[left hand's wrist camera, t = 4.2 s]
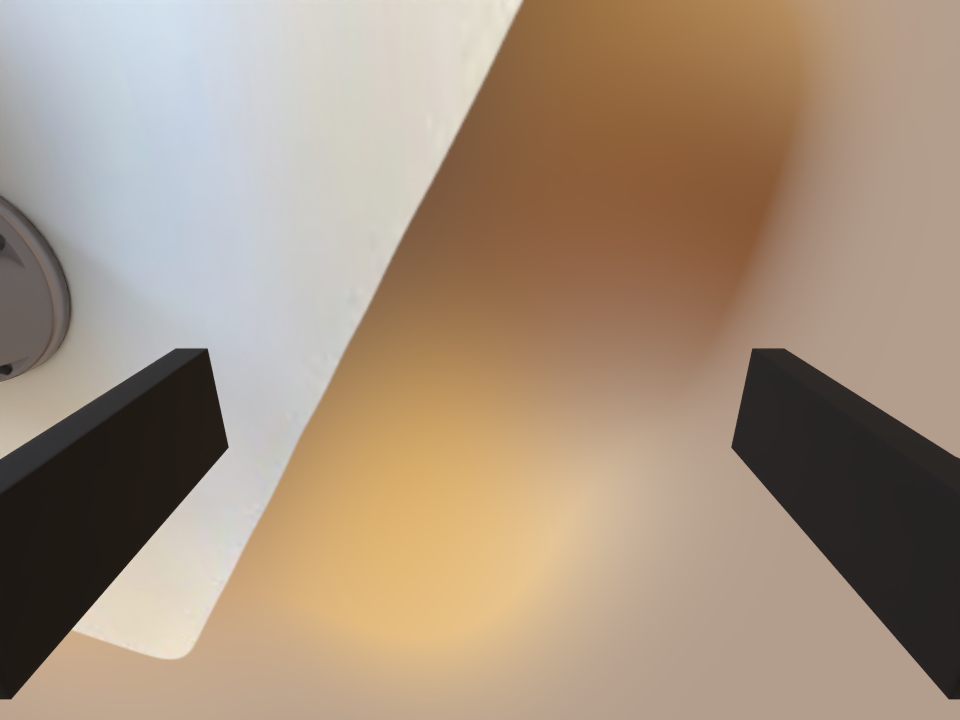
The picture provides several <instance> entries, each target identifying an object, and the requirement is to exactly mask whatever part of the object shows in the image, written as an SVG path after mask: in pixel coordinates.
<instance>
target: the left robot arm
mask: <svg viewBox="0 0 960 720" xmlns="http://www.w3.org/2000/svg"><path fill="white" fill-rule="evenodd" d="M69 311H70V306H69V296H68V290H67V286H66V282H65V278H64V276H63V273H62V270H61V268H60V266H59V264H58V262H57V259H56V257H55V256H54V254H53V252H52V251H51V249H50V247H49V246H48V244H47V243H46V241H45V240H44V238H43V237H42V236H41V235H40V233H39V232H38V231H37V230H36V228H35V227H34V226H33V225H32V224H31V223H30V222H29V221H28V220H27V219H26V218H25V217H24V216H23V215H22V214H21V213H20V212H19V211H18V210H17V209H15V208H14V207H13V206H12V205H10V204H9V203H8V202H7V201H5V200H4V199H2V198H1V197H0V382H1V381H4V380H8V379H11V378H14V377H16V376H18V375H21V374H23V373H25V372H27V371H29V370H31V369H33V368H35V367H37V366H39V365H41V364H42V363H43V362H45V361H46V360H47V359H48V358H50V357H51V356H52V355H53V354H54V352H55V351H56V350H57V349H58V347H59V346H60V344H61V342H62V341H63V338H64V336H65V334H66V330H67V327H68V322H69ZM228 448H229V447H228V442H227V437H226V433H225V428H224V423H223V419H222V414H221V409H220V404H219V400H218V395H217V390H216V386H215V381H214V376H213V372H212V367H211V362H210V357H209V353H208V349H174V350H173V351H171V352H170V353H168V354H166V355H165V356H163V357H162V358H160V359H158V360H157V361H155V362H154V363H152V364H151V365H149V366H147V367H146V368H144V369H143V370H141V371H139V372H138V373H136V374H135V375H133V376H132V377H130V378H128V379H127V380H125V381H124V382H122V383H120V384H119V385H117V386H116V387H114V388H113V389H111V390H109V391H108V392H106V393H105V394H103V395H101V396H100V397H98V398H97V399H95V400H94V401H92V402H90V403H89V404H87V405H86V406H84V407H82V408H81V409H79V410H78V411H76V412H75V413H73V414H71V415H70V416H68V417H67V418H65V419H63V420H62V421H60V422H59V423H57V424H56V425H54V426H52V427H51V428H49V429H48V430H46V431H45V432H43V433H41V434H40V435H38V436H37V437H35V438H33V439H32V440H30V441H29V442H27V443H26V444H24V445H22V446H21V447H19V448H18V449H16V450H14V451H13V452H11V453H10V454H8V455H7V456H5V457H3V458H2V459H0V699H12V698H13V697H14V695H15V694H16V693H17V692H18V691H19V690H20V688H21V687H22V686H23V685H24V684H25V683H26V682H27V680H28V679H29V678H30V677H31V676H32V675H33V673H34V672H35V671H36V670H37V669H38V668H39V666H40V665H41V664H42V663H43V662H44V661H45V660H46V658H47V657H48V656H49V655H50V654H51V653H52V651H53V650H54V649H55V648H56V647H57V646H58V644H59V643H60V642H61V641H62V640H63V639H64V637H65V636H66V635H67V634H68V633H69V632H70V631H71V629H72V628H73V627H74V626H75V625H76V624H77V622H78V621H79V620H80V619H81V618H82V617H83V616H84V614H85V613H86V612H87V611H88V610H89V609H90V607H91V606H92V605H93V604H94V603H95V602H96V600H97V599H98V598H99V597H100V596H101V595H102V594H103V592H104V591H105V590H106V589H107V588H108V587H109V585H110V584H111V583H112V582H113V581H114V580H115V578H116V577H117V576H118V575H119V574H120V573H121V572H122V570H123V569H124V568H125V567H126V566H127V565H128V563H129V562H130V561H131V560H132V559H133V558H134V556H135V555H136V554H137V553H138V552H139V551H140V550H141V548H142V547H143V546H144V545H145V544H146V543H147V541H148V540H149V539H150V538H151V537H152V536H153V534H154V533H155V532H156V531H157V530H158V529H159V528H160V526H161V525H162V524H163V523H164V522H165V521H166V519H167V518H168V517H169V516H170V515H171V514H172V512H173V511H174V510H175V509H176V508H177V507H178V506H179V504H180V503H181V502H182V501H183V500H184V499H185V497H186V496H187V495H188V494H189V493H190V492H191V490H192V489H193V488H194V487H195V486H196V485H197V483H198V482H199V481H200V480H201V479H202V478H203V477H204V475H205V474H206V473H207V472H208V471H209V470H210V468H211V467H212V466H213V465H214V464H215V463H216V461H217V460H218V459H219V458H220V457H221V456H222V455H223V453H224V452H225V451H226V450H227V449H228ZM732 449H733V450H734V451H735V452H736V453H737V455H738V456H739V457H740V458H741V459H742V460H743V461H744V463H745V464H746V465H747V466H748V467H749V468H750V470H751V471H752V472H753V473H754V474H755V475H756V477H757V478H758V479H759V480H760V481H761V482H762V483H763V485H764V486H765V487H766V488H767V489H768V490H769V492H770V493H771V494H772V495H773V496H774V497H775V499H776V500H777V501H778V502H779V503H780V504H781V506H782V507H783V508H784V509H785V510H786V511H787V512H788V514H789V515H790V516H791V517H792V518H793V519H794V521H795V522H796V523H797V524H798V525H799V526H800V527H801V529H802V530H803V531H804V532H805V533H806V534H807V536H808V537H809V538H810V539H811V540H812V541H813V543H814V544H815V545H816V546H817V547H818V548H819V550H820V551H821V552H822V553H823V554H824V555H825V556H826V558H827V559H828V560H829V561H830V562H831V563H832V565H833V566H834V567H835V568H836V569H837V570H838V572H839V573H840V574H841V575H842V576H843V577H844V578H845V580H846V581H847V582H848V583H849V584H850V585H851V587H852V588H853V589H854V590H855V591H856V592H857V594H858V595H859V596H860V597H861V598H862V599H863V600H864V602H865V603H866V604H867V605H868V606H869V607H870V609H871V610H872V611H873V612H874V613H875V614H876V616H877V617H878V618H879V619H880V620H881V621H882V622H883V624H884V625H885V626H886V627H887V628H888V629H889V631H890V632H891V633H892V634H893V635H894V636H895V637H896V639H897V640H898V641H899V642H900V643H901V644H902V646H903V647H904V648H905V649H906V650H907V651H908V653H909V654H910V655H911V656H912V657H913V658H914V659H915V661H916V662H917V663H918V664H919V665H920V666H921V668H922V669H923V670H924V671H925V672H926V673H927V675H928V676H929V677H930V678H931V679H932V680H933V682H934V683H935V684H936V685H937V686H938V687H939V688H940V690H941V691H942V692H943V693H944V694H945V695H946V697H947V698H948V699H960V458H957V457H955V456H953V455H952V454H950V453H949V452H947V451H946V450H944V449H942V448H941V447H939V446H938V445H936V444H934V443H933V442H931V441H930V440H928V439H926V438H925V437H923V436H922V435H920V434H919V433H917V432H915V431H914V430H912V429H911V428H909V427H908V426H906V425H904V424H903V423H901V422H900V421H898V420H897V419H895V418H893V417H892V416H890V415H889V414H887V413H885V412H884V411H882V410H881V409H879V408H878V407H876V406H874V405H873V404H871V403H870V402H868V401H866V400H865V399H863V398H862V397H860V396H859V395H857V394H855V393H854V392H852V391H851V390H849V389H847V388H846V387H844V386H843V385H841V384H839V383H838V382H836V381H835V380H833V379H832V378H830V377H828V376H827V375H825V374H824V373H822V372H821V371H819V370H817V369H816V368H814V367H813V366H811V365H809V364H808V363H806V362H805V361H803V360H802V359H800V358H798V357H797V356H795V355H794V354H792V353H790V352H789V351H787V350H786V349H752V353H751V358H750V362H749V367H748V372H747V376H746V381H745V386H744V390H743V395H742V400H741V405H740V409H739V414H738V419H737V423H736V428H735V433H734V437H733V442H732Z"/></svg>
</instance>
